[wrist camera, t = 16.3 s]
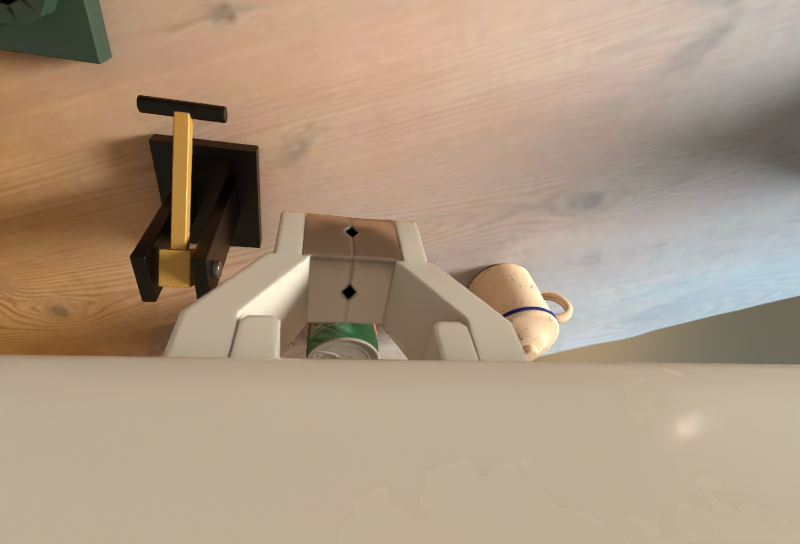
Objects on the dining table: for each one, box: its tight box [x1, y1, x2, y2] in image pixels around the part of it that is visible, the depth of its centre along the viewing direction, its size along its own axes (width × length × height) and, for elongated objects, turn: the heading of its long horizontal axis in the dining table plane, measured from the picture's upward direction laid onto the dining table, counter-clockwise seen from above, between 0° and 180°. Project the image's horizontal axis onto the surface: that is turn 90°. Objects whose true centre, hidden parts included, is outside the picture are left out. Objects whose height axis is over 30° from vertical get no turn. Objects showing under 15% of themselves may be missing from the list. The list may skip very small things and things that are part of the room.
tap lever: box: [137, 95, 227, 288], centre depth 32 cm, size 14×6×2 cm
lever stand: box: [130, 134, 262, 302], centre depth 36 cm, size 11×9×14 cm
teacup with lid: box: [468, 264, 572, 361], centre depth 51 cm, size 12×9×12 cm
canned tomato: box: [306, 322, 380, 359], centre depth 48 cm, size 8×8×11 cm
